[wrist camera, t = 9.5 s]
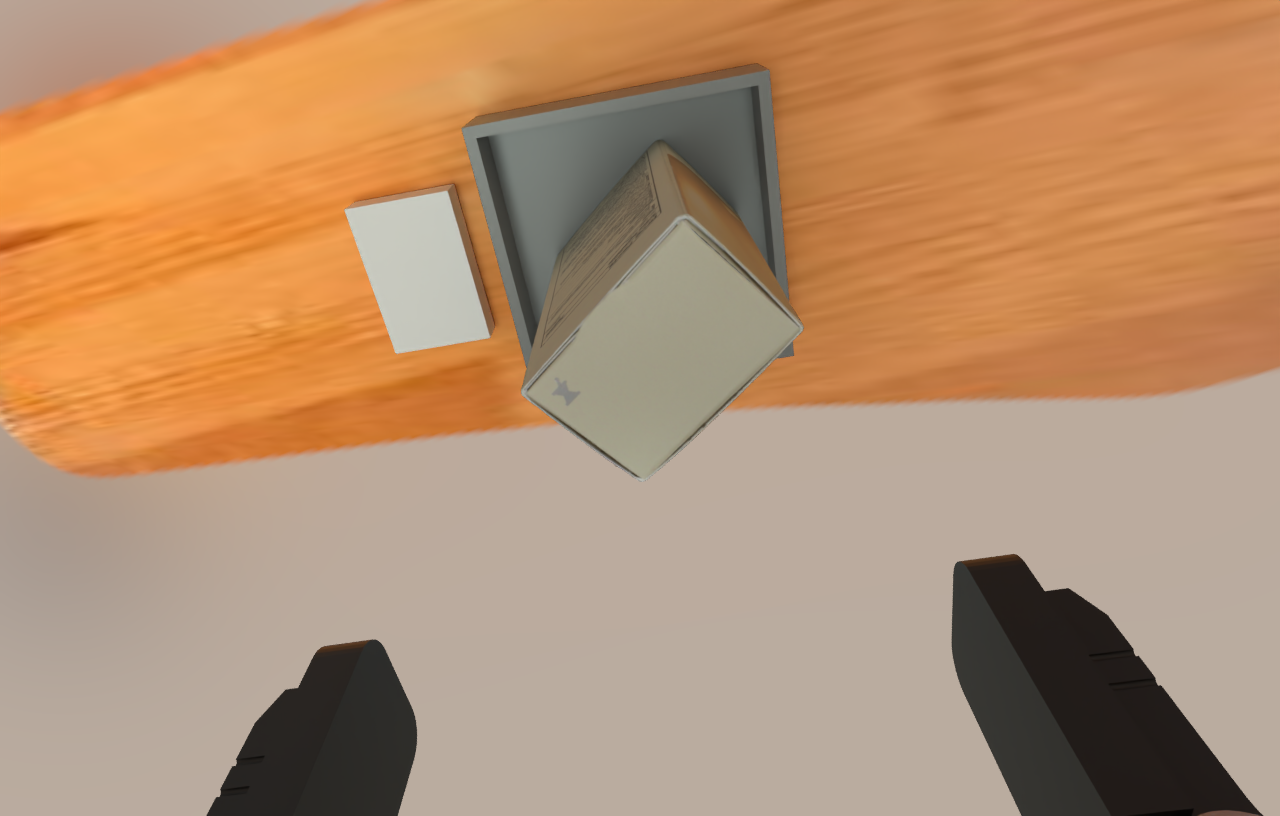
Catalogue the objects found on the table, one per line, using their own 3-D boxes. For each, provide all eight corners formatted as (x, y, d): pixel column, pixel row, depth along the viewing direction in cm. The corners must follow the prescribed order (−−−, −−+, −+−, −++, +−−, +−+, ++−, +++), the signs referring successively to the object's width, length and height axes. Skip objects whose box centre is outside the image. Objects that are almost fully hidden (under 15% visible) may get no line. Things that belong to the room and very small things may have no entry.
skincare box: (634, 325, 31) (636, 498, 20) (552, 256, 30) (507, 402, 19) (747, 207, 29) (815, 332, 18) (663, 127, 28) (683, 210, 17)
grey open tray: (757, 63, 27) (769, 69, 25) (781, 328, 32) (793, 355, 30) (334, 143, 28) (305, 157, 26) (419, 387, 33) (402, 418, 31)
